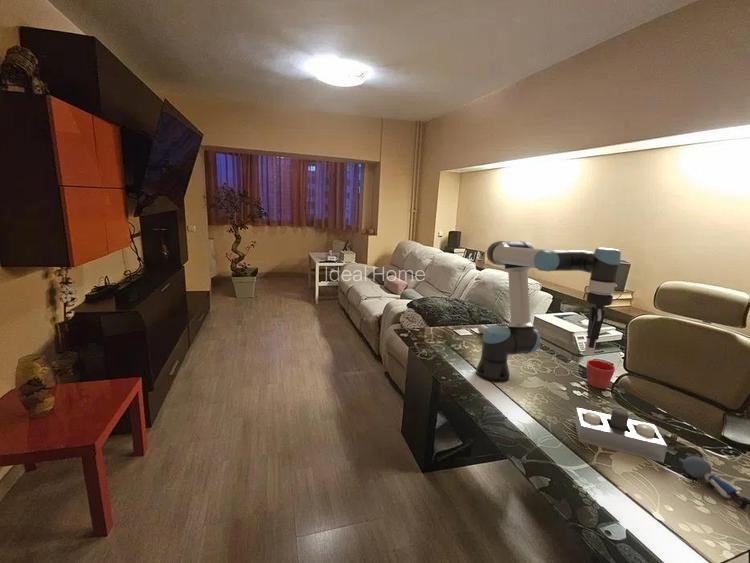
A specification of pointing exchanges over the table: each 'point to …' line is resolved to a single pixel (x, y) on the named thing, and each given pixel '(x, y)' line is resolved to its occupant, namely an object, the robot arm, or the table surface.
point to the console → (620, 437)
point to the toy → (711, 478)
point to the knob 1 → (592, 418)
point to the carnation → (481, 329)
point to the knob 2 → (645, 430)
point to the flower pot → (599, 373)
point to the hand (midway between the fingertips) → (588, 354)
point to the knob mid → (619, 419)
